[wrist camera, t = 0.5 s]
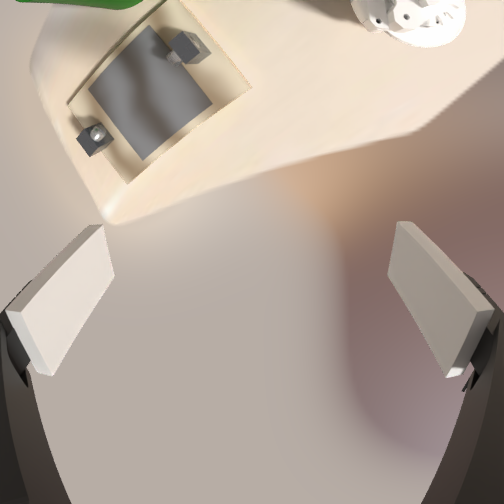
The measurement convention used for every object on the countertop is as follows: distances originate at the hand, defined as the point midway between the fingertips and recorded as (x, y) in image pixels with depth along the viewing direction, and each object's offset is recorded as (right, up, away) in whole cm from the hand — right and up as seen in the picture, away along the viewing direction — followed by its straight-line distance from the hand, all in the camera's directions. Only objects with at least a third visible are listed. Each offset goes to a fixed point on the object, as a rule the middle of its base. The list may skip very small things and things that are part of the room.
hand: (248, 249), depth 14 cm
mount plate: (-13, +19, +21) cm, 31 cm away
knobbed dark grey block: (-19, +16, +23) cm, 34 cm away
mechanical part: (+16, +27, +10) cm, 33 cm away
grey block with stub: (-6, +22, +16) cm, 28 cm away
